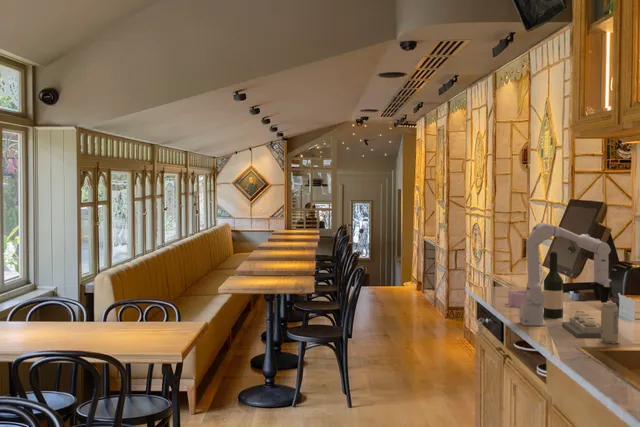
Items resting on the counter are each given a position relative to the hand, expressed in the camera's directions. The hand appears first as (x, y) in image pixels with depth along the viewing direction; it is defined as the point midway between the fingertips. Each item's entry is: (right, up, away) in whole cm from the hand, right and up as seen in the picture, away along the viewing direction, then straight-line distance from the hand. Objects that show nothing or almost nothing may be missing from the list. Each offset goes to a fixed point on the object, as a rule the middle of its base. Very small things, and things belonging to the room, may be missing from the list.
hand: (601, 301), depth 288 cm
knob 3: (-13, -7, -20) cm, 24 cm away
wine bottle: (-14, -10, +18) cm, 25 cm away
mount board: (-12, -11, -12) cm, 20 cm away
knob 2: (-12, -7, -13) cm, 19 cm away
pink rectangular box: (-17, -9, +44) cm, 48 cm away
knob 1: (-11, -6, -6) cm, 14 cm away
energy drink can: (-10, -12, -31) cm, 34 cm away
